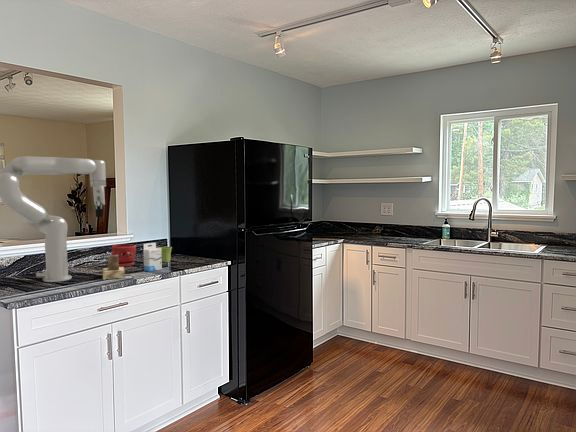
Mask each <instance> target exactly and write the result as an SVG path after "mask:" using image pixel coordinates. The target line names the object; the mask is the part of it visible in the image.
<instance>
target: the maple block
mask: <svg viewBox="0 0 576 432" xmlns="http://www.w3.org/2000/svg"><path fill="white" fill-rule="evenodd" d="M125 272H126V271H125V267H119V270H110V271H108V267H106V268H104V267H103V268H102V281H107V280H106V279H108V280H117V279H116V278H121V279H126V277H125V276H126V273H125Z"/></svg>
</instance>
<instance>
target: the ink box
mask: <svg viewBox="0 0 576 432" xmlns="http://www.w3.org/2000/svg"><path fill="white" fill-rule="evenodd" d="M162 263H163V262H162V256H161V248H158V247H157V242H149V243H143V271H145V272H154V271H159V270H162V269H163V268H162V266H163V264H162Z"/></svg>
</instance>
